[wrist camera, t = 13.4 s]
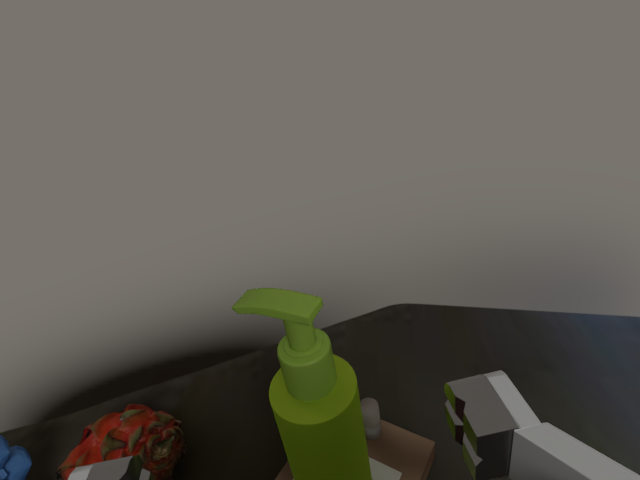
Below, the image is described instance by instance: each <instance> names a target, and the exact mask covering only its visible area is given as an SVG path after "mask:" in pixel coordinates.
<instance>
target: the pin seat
mask: <svg viewBox="0 0 640 480" xmlns="http://www.w3.org/2000/svg"><path fill="white" fill-rule="evenodd" d="M360 404H361V410H362V417H363V424H364V430H365V437H366V443H367V450H368V456H369V463H370V469H371V476H372V480H426V478H427V476H428V473H429V470H430V468H431V465H432V463H433V460H434V457H435V442H434V441H431V440H429V439H426V438H424V437H422V436H419V435H417V434H415V433H412V432H410V431H407V430H405V429H403V428H400V427H398V426H396V425H393V424H391V423H388V422H386V421H384V420H381V419H380V414H379V406H378V402H377V401H376V400H375V399H373V398H364V399H362V400H361V401H360ZM275 480H294V477H293V474H292V471H291V468H290V464H289V461H287V462H286V464H285V465H284V467H283V468H282V470H281V471H280V473H279V474H278V476H277V477H276V479H275Z"/></svg>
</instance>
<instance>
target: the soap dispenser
mask: <svg viewBox="0 0 640 480" xmlns="http://www.w3.org/2000/svg"><path fill="white" fill-rule="evenodd" d="M322 306H323V302H322V298H321V297H317V296H313V295H309V294H305V293H300V292H295V291H290V290H284V289H276V288H259V289H251V290H247V292H246V293H245V294H244V295H243V296H242V297H241V298H240V299H239V300H238V301H237V302H236V303H235V304H234V305H233V307H232V309H233V310H234V311H235V312H237V313H238V314H258V315H259V314H260V315H265V316H270V317H274V318H278V319H283V322H284V326H285V330H286V334H287V335H285V336H284V337H283V338H282V339H281V341H280V342H279V344H278V347H277V355H278V359H279V362H280V366H281V368H280V369H279V370H278V372H277V373H276V374H275V376H274V377H273V379H272V382H271V384H270V388H269V400H270V404H271V407H272V410H273V413H274V416H275V420H276V423H277V426H278V429H279V432H280V436H281V439H282V442H283V445H284V448H285V452H286V455H287V458H288V461H289V464H290V468H291V471H292V474H293V477H294V480H372V476H371V469H370V463H369V456H368V450H367V443H366V437H365V430H364V424H363V417H362V410H361V404H360V397H359V391H358V384H357V378H356V374H355V372H354V370H353V368H352V367H351V366H350V364H349V363H348V362H347V361H345V360H344V359H342V358H341V357H339V356H336V355H334V354H333V352H332V347H331V342H330V339H329V337H328V335H327V334H326V333H325V332H324V331H322V330H320V329H317V328H314V326H313V320H314V318H315V317H316V315H317V314H318V312H319V311H320V309H321V308H322Z"/></svg>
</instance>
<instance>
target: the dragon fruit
mask: <svg viewBox="0 0 640 480" xmlns="http://www.w3.org/2000/svg"><path fill="white" fill-rule="evenodd" d="M181 424H182V421H181V420H176V419H175V418H174V417H173V416H171V415H170V414H169V413H167V412H165V411H159V412H155V411H153V410H152V409H151V408H149V407H147V406H145V405H141V404H129V405H127V406H126V407H125V408H124V409H123V411H122V412H120V413H117V412H113V413H109V414H106V415H105V416H103V417H101V418H100V419H98V420H97V421H96V422H95V423H92V424H90V425H88V426H87V427H85V428H84V430H83V431H84V434H83V437H82V439H81V440H80V442H79V444H78V446H77V447H75V448H74V449H73V450H72V451H71V452H70V453H69V455H68V457H67V459H66V460H65V461H64V462H63V464H62V465H61V466H60V467H59V468H58V470H57V472H56V474H57V480H58V478H59V479H61V477H62V479H63V480H68V478H69V475H70V474H71V473H72V471H73V470H74V469H75V468H76V467H80V466H85V465H89V464H93V463H99V462H103V461H108V460H113V459H118V458H123V457H128V456H132V455H137V454H138V455H139V456H140V457H141V459H142V460H143V461H144V463H143V467H142V469H145V470H147V471H150V472H151V474H152V475H153V477H154V479H155V480H171V479H172V478H173V469H174V465H175V464H177V463H178V461H179V460H180V459H182V458H184V455H185V453H186V451H187V447H188V444H187V443H186V442H185V435H184V433H183V431H182V430H181V429H180V427H181ZM55 476H56V475H55Z"/></svg>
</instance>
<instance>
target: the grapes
mask: <svg viewBox="0 0 640 480" xmlns="http://www.w3.org/2000/svg"><path fill="white" fill-rule="evenodd" d="M31 465H32V460H31V457H30V454H29V453H28V451H27V450H26V449H25V448H24V447H21V446H18V445H16V446H13V447H9V445H8V442H7V440H6V439H5V438H4V437H3V436H2V435H0V480H24V479H25V478H26V476H27V474H28V473H29V471H30V468H31ZM25 480H26V479H25Z"/></svg>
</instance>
